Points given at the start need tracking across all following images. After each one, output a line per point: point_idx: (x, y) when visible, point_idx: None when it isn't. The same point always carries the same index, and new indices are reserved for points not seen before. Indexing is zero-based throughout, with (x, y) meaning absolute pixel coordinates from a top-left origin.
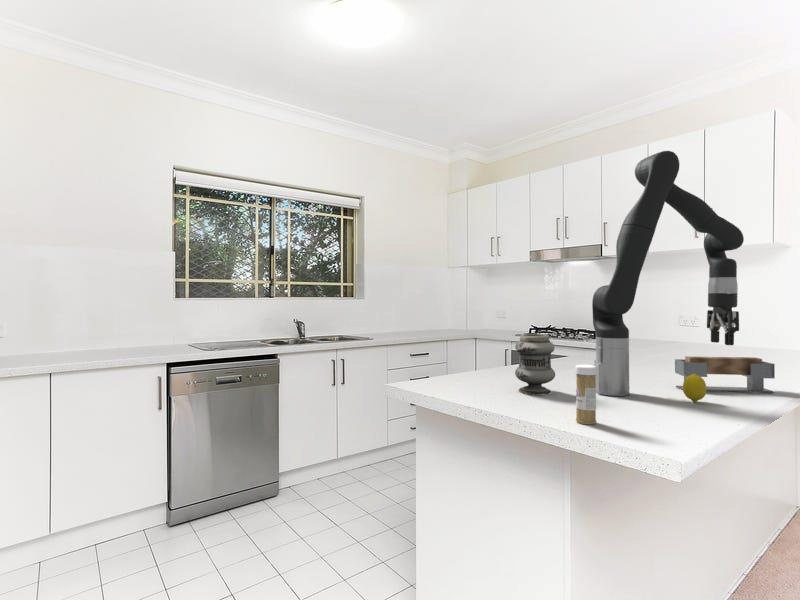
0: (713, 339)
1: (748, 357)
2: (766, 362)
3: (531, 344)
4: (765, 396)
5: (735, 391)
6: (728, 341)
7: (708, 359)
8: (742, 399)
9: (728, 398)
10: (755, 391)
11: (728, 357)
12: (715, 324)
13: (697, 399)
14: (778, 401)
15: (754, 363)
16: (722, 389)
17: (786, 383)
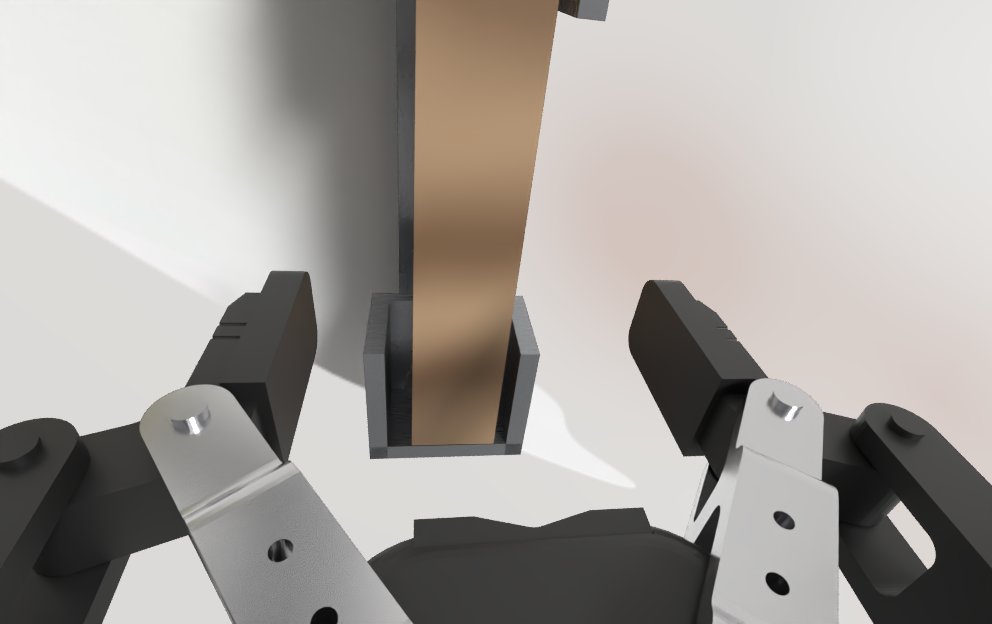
0: (656, 312)
1: (491, 410)
2: (435, 450)
3: None
4: (300, 268)
5: (399, 182)
6: (228, 309)
7: (417, 60)
8: (147, 90)
9: (146, 5)
10: (400, 278)
11: (486, 287)
12: (710, 506)
13: None
14: (169, 259)
15: (371, 375)
16: (406, 113)
17: (619, 473)
